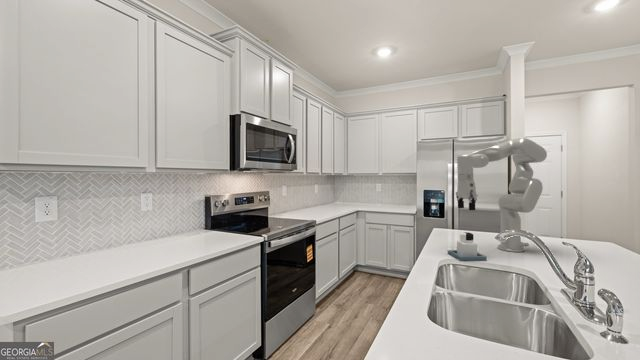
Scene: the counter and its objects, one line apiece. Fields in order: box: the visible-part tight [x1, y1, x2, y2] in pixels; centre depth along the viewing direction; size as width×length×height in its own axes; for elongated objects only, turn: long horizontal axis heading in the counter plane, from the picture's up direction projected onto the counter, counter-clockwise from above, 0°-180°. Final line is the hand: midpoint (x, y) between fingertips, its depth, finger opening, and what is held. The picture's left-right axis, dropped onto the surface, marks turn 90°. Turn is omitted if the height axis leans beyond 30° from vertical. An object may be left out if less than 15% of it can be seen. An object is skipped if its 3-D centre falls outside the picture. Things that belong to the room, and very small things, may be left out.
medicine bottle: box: [456, 231, 478, 257], centre depth 142 cm, size 7×7×12 cm
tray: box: [447, 249, 488, 262], centre depth 142 cm, size 13×13×2 cm
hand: (466, 209), depth 148 cm, fingers open, 9 cm apart
